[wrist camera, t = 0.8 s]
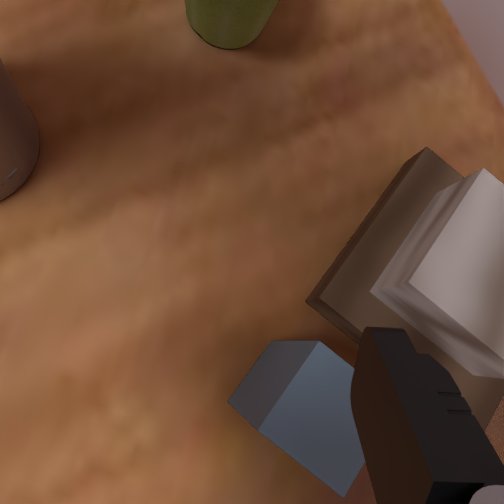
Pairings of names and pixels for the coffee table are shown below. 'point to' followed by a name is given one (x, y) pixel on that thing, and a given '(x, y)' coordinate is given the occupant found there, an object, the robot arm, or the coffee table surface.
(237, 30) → the plant pot
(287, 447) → the slate brick
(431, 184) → the tower base
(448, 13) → the coffee table surface
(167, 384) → the coffee table surface
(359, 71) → the coffee table surface
